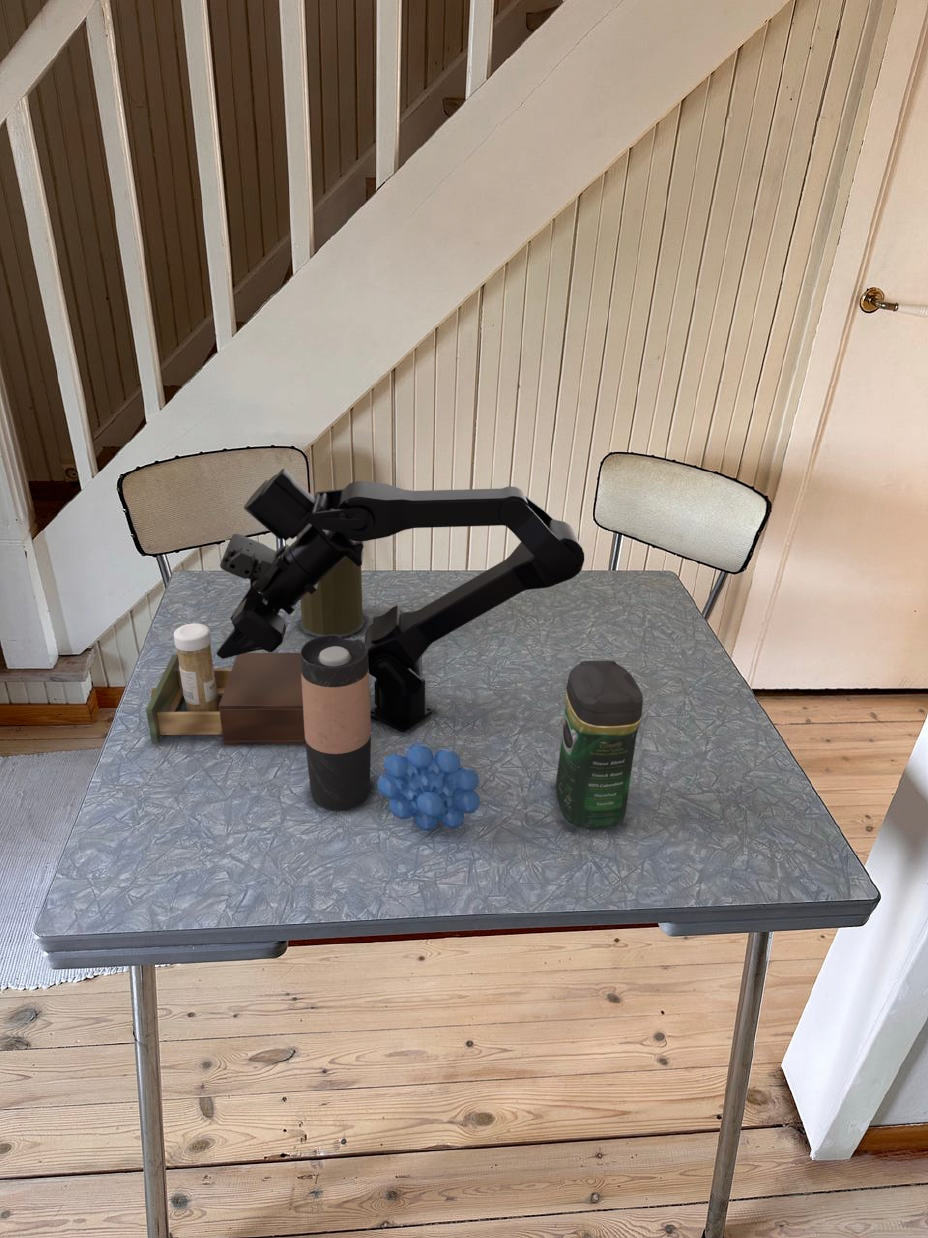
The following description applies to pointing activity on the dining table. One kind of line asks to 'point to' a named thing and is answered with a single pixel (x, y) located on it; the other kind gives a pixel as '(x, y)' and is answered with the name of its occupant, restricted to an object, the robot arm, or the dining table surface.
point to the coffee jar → (598, 744)
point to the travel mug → (337, 720)
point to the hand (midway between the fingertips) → (226, 637)
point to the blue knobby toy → (429, 787)
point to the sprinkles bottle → (196, 668)
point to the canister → (334, 602)
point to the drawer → (168, 700)
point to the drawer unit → (263, 700)
